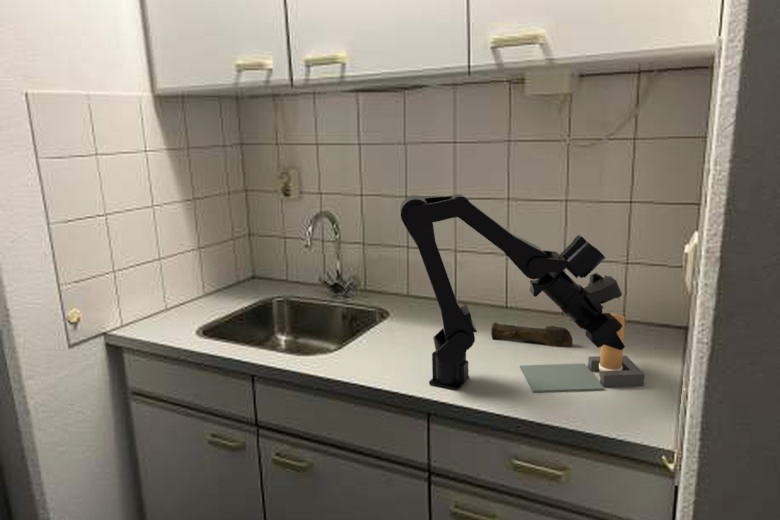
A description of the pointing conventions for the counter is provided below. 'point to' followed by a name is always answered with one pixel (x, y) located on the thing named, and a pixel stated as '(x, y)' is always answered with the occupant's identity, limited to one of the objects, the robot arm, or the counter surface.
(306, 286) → the counter surface
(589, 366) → the dark grey piece
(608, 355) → the orange peg
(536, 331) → the wooden log
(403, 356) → the counter surface
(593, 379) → the mat
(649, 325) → the counter surface
